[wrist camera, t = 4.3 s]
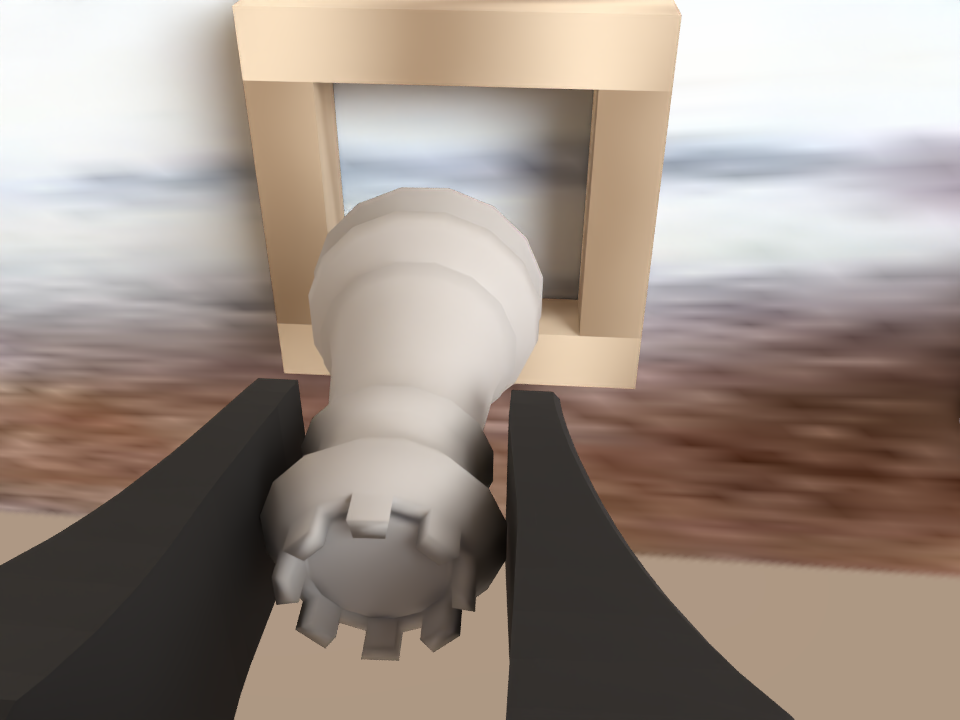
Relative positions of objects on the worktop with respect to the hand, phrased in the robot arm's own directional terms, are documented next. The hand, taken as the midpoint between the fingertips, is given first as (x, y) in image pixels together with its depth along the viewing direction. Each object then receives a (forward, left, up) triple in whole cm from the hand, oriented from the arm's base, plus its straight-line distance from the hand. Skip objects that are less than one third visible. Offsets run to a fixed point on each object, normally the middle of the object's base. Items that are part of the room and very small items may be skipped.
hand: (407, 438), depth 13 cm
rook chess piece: (0, 0, -5) cm, 5 cm away
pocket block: (0, 0, -10) cm, 10 cm away
